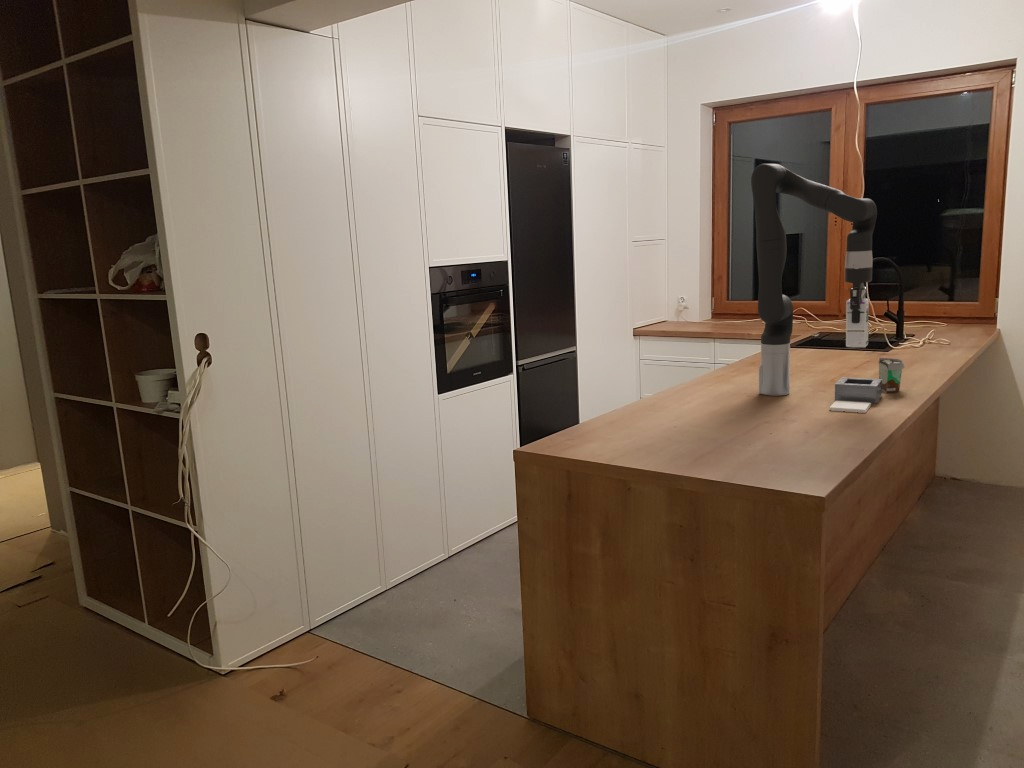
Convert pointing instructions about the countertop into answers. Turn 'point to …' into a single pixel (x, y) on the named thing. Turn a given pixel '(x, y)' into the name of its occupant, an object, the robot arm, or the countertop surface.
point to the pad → (850, 406)
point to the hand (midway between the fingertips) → (857, 321)
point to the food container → (890, 374)
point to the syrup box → (857, 326)
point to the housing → (858, 390)
